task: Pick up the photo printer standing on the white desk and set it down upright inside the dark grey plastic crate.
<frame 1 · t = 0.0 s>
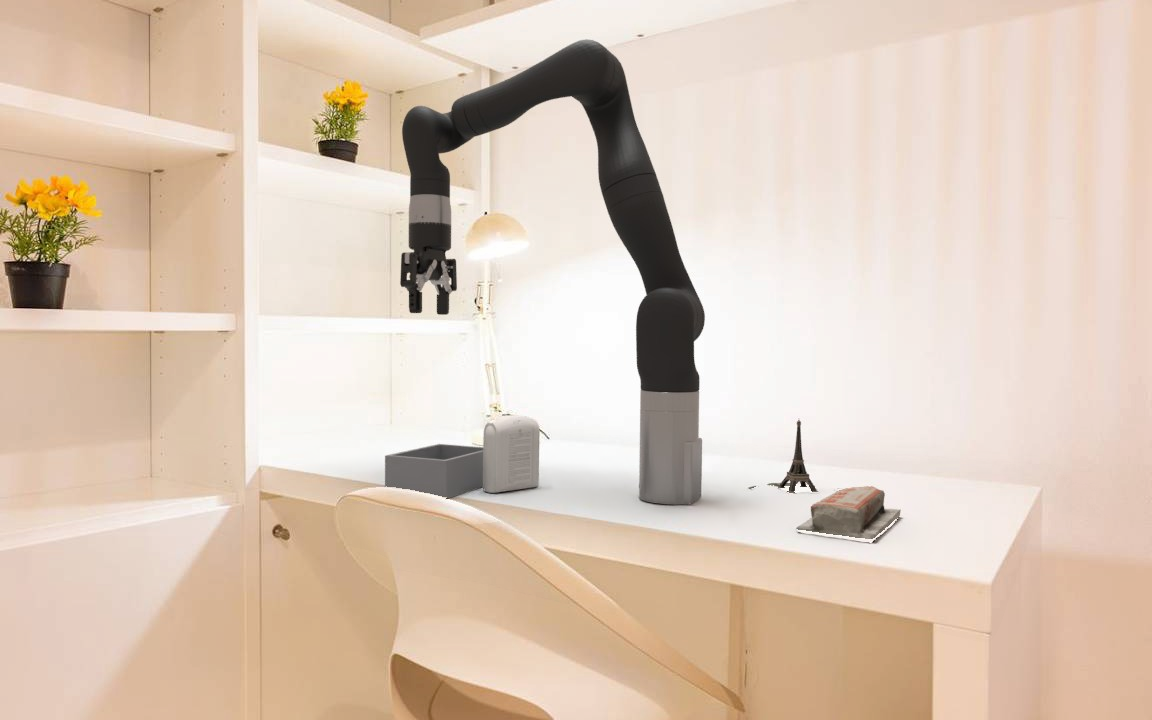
hand: (429, 313, 144), 29 cm above the table, fingers open, 8 cm apart
crate: (442, 487, 135), on the table
eiffel tower figurine: (799, 494, 137), on the table
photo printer: (511, 490, 134), on the table
packaged product: (850, 529, 112), on the table
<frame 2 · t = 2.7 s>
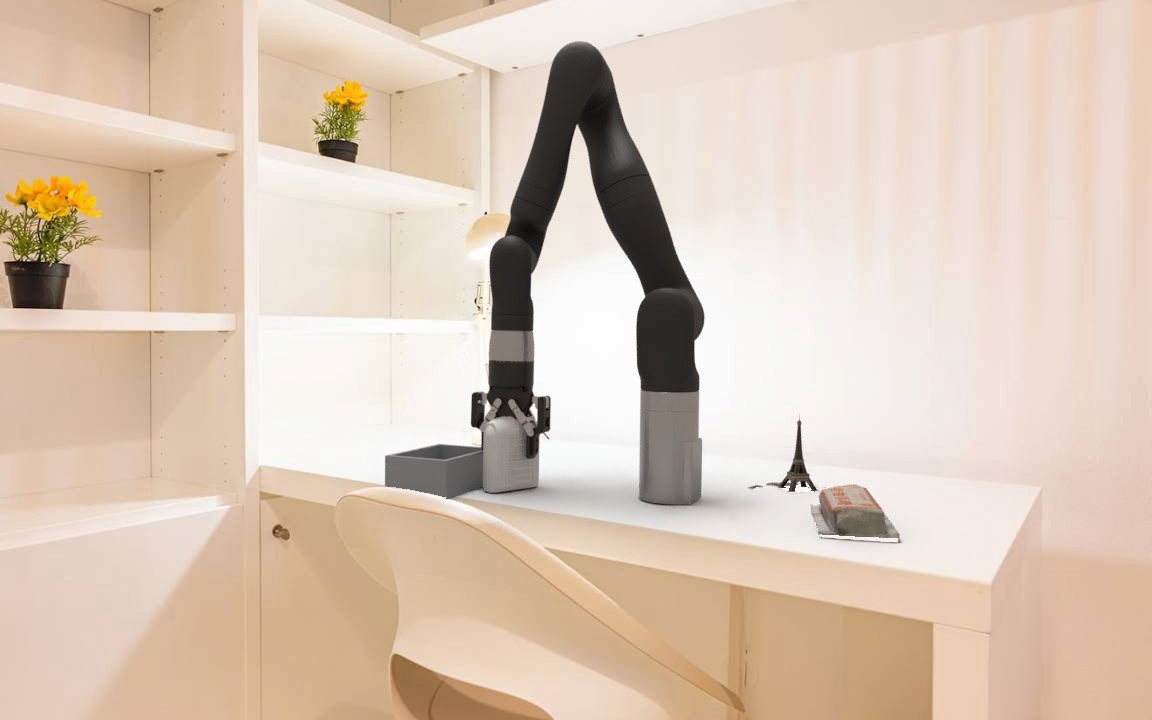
hand: (509, 455, 134), 5 cm above the table, fingers open, 7 cm apart
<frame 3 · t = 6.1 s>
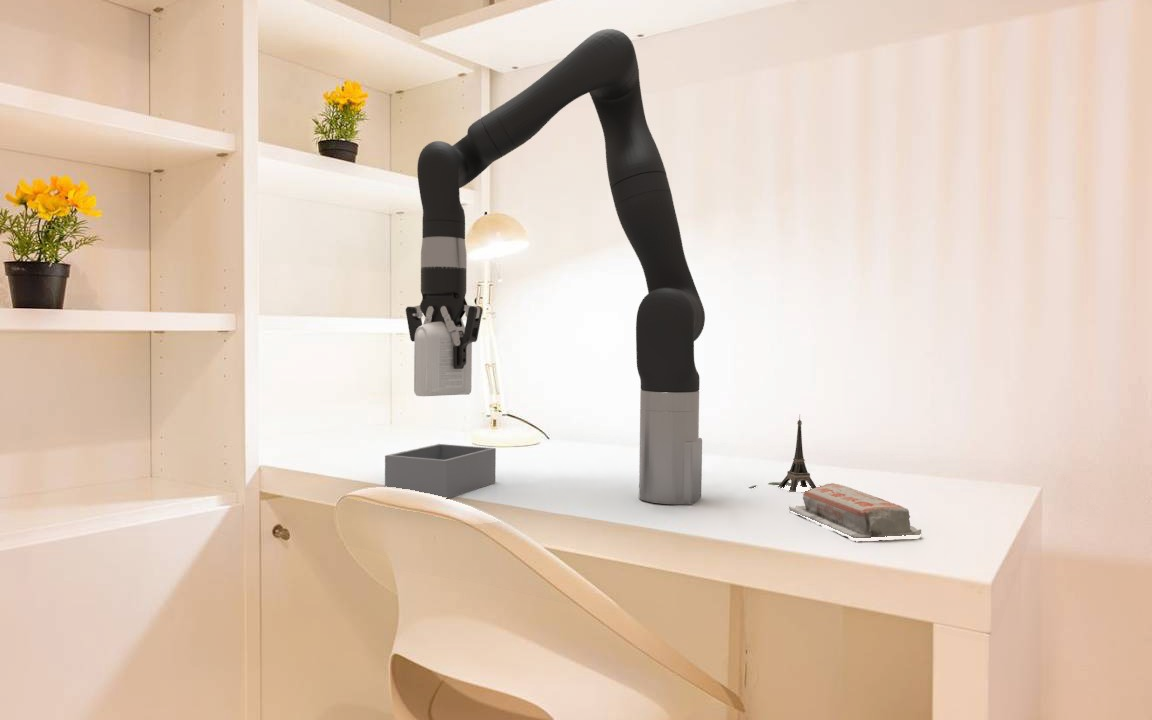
hand: (443, 367, 134), 20 cm above the table, fingers closed on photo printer, 5 cm apart
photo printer: (443, 396, 134), point 15 cm above the table, touching gripper
when the fingers open (6 cm above the table, at t = 9.0 s): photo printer stays where it is, resting on crate.
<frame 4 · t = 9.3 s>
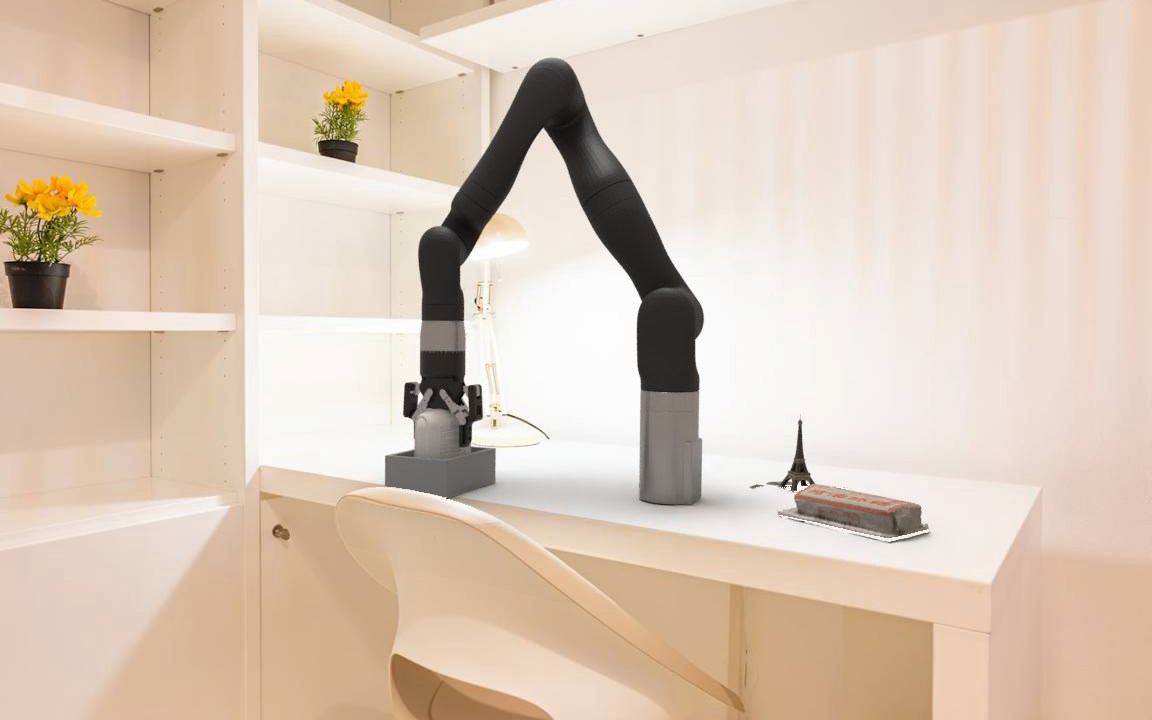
hand: (442, 445, 135), 7 cm above the table, fingers open, 8 cm apart
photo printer: (443, 482, 135), point 1 cm above the table, touching crate
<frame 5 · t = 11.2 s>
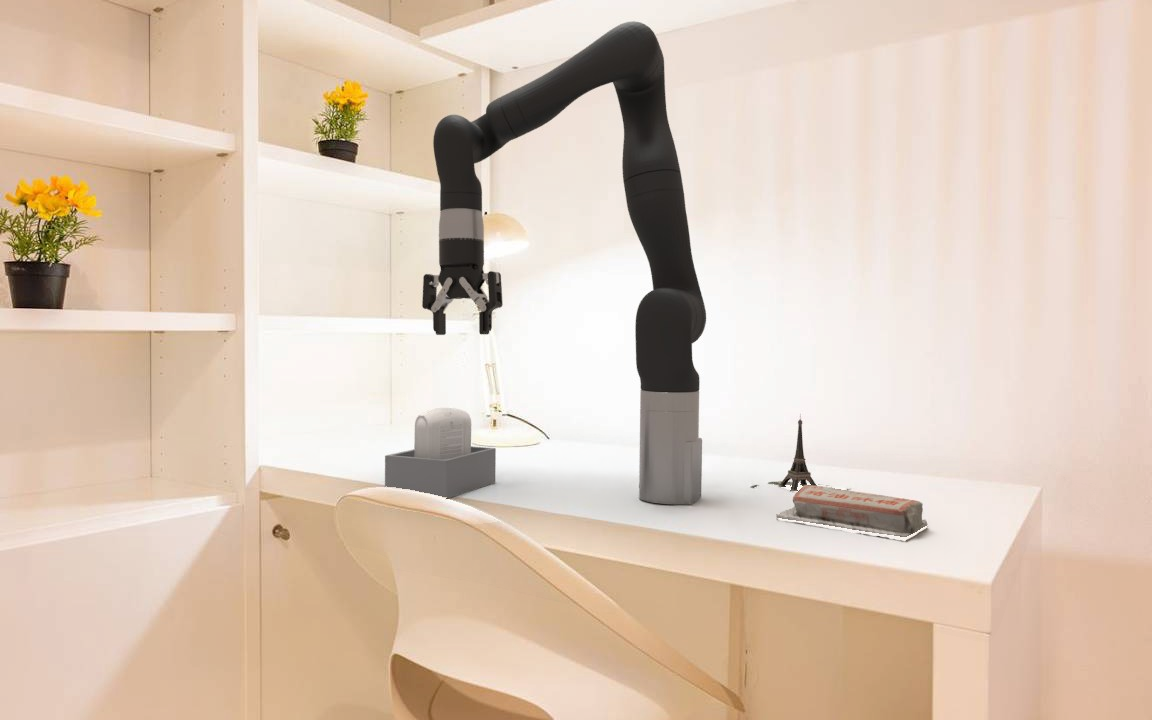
hand: (462, 334, 136), 26 cm above the table, fingers open, 8 cm apart
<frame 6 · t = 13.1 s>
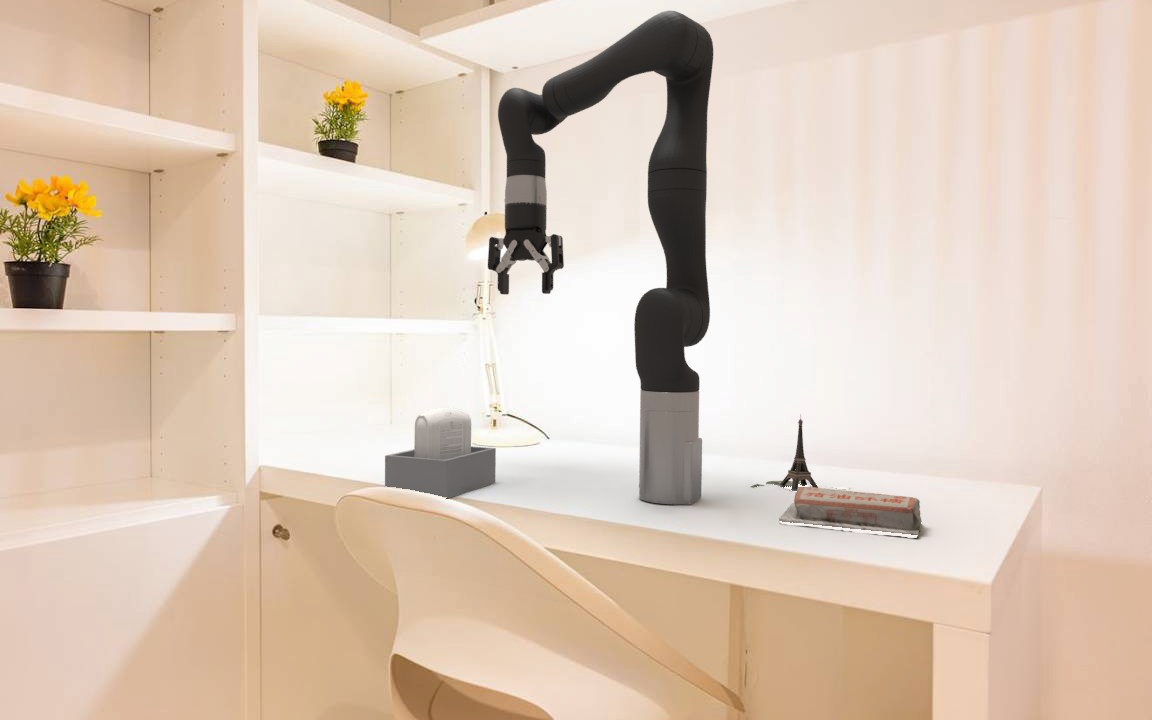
hand: (524, 294, 146), 33 cm above the table, fingers open, 8 cm apart
at the end: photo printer inside the target area on the crate (0.2 cm from its centre), point 0.8 cm above the crate's base; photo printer tilted 0°; the gripper is holding nothing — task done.
